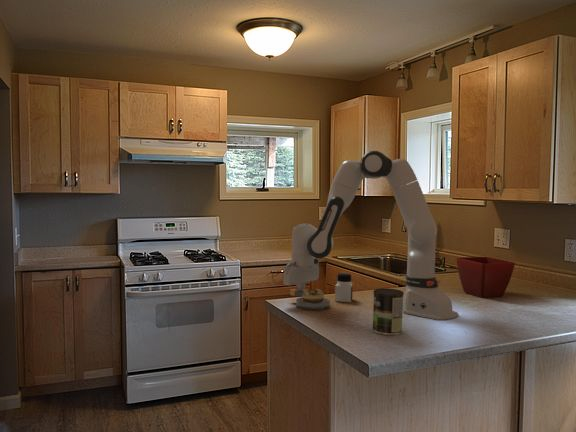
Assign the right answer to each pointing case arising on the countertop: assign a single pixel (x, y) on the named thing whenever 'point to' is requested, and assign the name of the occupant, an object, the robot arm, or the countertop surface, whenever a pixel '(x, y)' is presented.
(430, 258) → the robot arm
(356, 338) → the countertop surface
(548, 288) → the countertop surface
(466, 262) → the plant pot
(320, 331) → the countertop surface
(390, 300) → the coffee can
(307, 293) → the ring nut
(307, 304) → the plate
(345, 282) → the medicine bottle
